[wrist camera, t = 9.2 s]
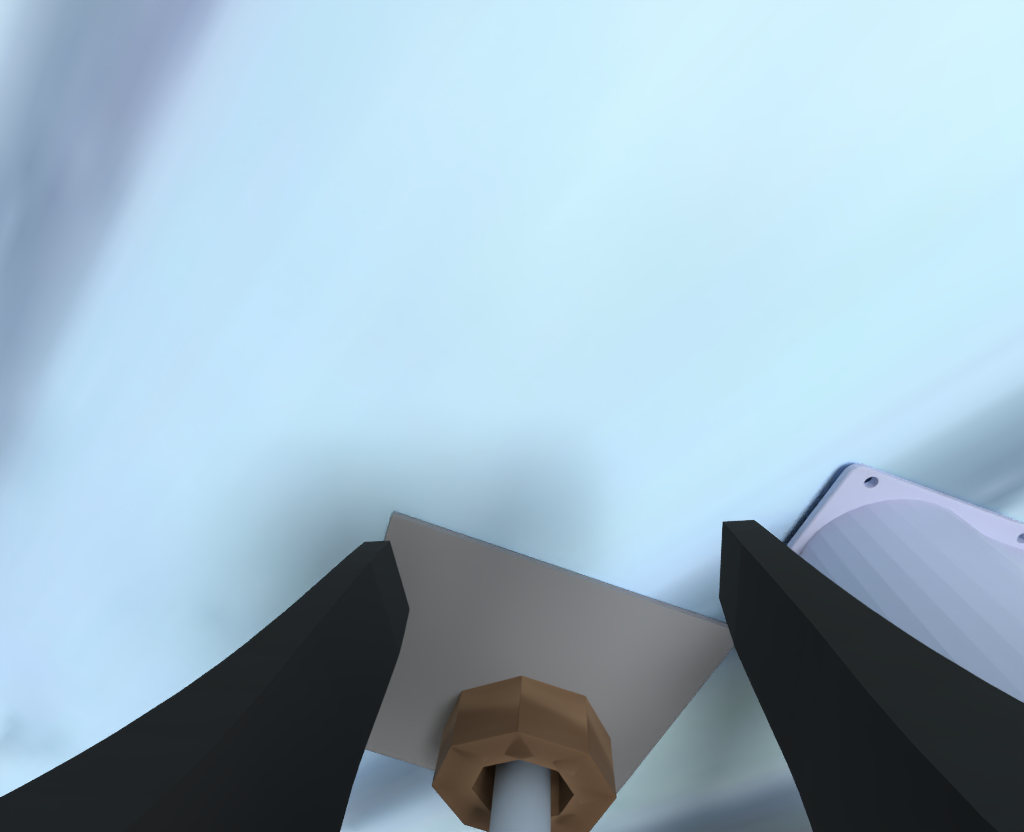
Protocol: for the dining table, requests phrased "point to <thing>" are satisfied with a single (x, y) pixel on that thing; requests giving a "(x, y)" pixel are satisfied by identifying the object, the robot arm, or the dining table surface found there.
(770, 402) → the dining table surface
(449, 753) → the faceted ring
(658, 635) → the mat
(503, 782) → the dowel
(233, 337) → the dining table surface
